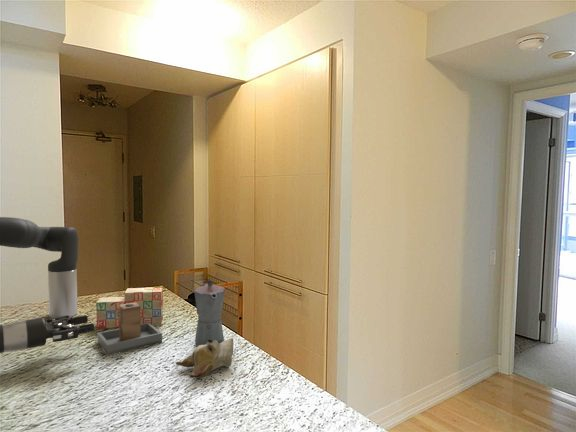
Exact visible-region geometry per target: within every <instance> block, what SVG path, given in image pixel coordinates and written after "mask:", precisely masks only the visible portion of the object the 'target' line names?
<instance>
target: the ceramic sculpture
mask: <svg viewBox="0 0 576 432" xmlns="http://www.w3.org/2000/svg"><path fill="white" fill-rule="evenodd" d="M233 354H234V338H233V337H231V338H229V339H224V341H223V342H221V343H218V342H217V341H216V340H213V339H209V340H208V341H207V343H205V344H201V345H199V346H198V345H196V347H195V348H194V350H193V352H192V354H191V355H189V356H187V357H186V358H184V359H183V360H182V361H177V362H175V365H177V366H181V367H183V368H193V370H192V372H191V374H190V375H189V377H188V378H189V379H191V378H195V379H197V378H198V379H200V378H204V377H206V376H207V375H208V373H210V372H212V371H214V370H216V369H218V368H221V367H222V366H223V367H225V368H229V367H231V365H232V362H233V360H232V359H233Z"/></svg>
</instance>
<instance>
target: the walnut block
mask: <svg viewBox="0 0 576 432" xmlns="http://www.w3.org/2000/svg"><path fill="white" fill-rule="evenodd" d="M118 329H119V339H120V340H121V341H125V340H129V339H134V338H138V337H141V324H140V305H138V304H137V303H136V302H134V303H127V304H121V305H119V327H118Z"/></svg>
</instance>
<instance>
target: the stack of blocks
mask: <svg viewBox="0 0 576 432" xmlns="http://www.w3.org/2000/svg"><path fill="white" fill-rule="evenodd" d="M163 295H164V288H163V287H154V286H153V287H151V286H150V287H147V286H146V287H135V288H133V287H130V288H126V290H125V292H124V296H110V297H109V296H105V297H99V299H98V300H97V301H96V302H95V303H96V305H95V306H96V307H95V308H96V309H95V310H96V328H97V329H103V328H104V329H105V328H106V329H109V328H112V329H113V328H119V305H121V304H127V303H134V302H136V303H137V304H138V305H140V324H144V323H150V324H151V325H152V326H161V325H162V323H163V319H164V317H163V316H164V315H163V313H164V312H163V311H164V309H163V308H164V303H163V302H164V299H163V297H164V296H163Z"/></svg>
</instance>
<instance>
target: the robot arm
mask: <svg viewBox="0 0 576 432" xmlns="http://www.w3.org/2000/svg"><path fill="white" fill-rule="evenodd" d="M0 246H2V247H8V248H16V249H17V248H18V249H29V248H37V249H41V250H45V251H47V252H53V253H54V252H55V253H56V252H57V253H59V252H60V253H61V254H60V258H58V259H56V260H52V261H51V262H50V261H49V263H48V265H47V277H48V278H47V279H48V317H49V318H46V320H45V318H44V317H38V318H32V319H31V318H30V319H27V320H26V319H25V320H19V321H14V322H11V323H6V324H0V354H4V353H11V352H17V351H18V352H19V351H24V350H27V349H33V348H39V347H43V346H45V345H46V344H47V340H48V339H52V343H57V342H62V341H68V340H73V339H74V340H75V339H77V338H79V336H80V335H82V334H87V333H92V332H94V331H95V325H94V323H92V322H90V323H88V321H89V320H88V319H89V318H88V316H87V315H86V314H85V315H80V316H76V315H78V277H77V276H78V275H77V274H78V273H77V272H78V271H77V267H78V266H77V265H78V261H79V233H78V231H77V229H76V228H75V227H71V226H70V227H69V226H38V225H37V224H36V223H35V222H33V221H31V220H28V219H24V218H19V217H8V216H7V217H6V216H0Z"/></svg>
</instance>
